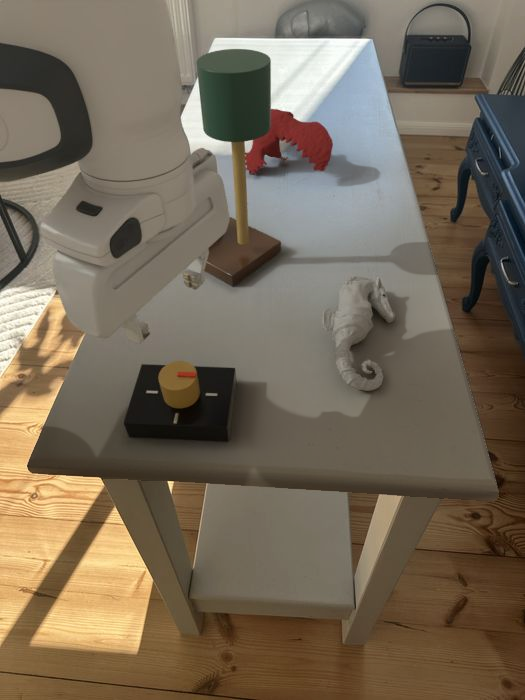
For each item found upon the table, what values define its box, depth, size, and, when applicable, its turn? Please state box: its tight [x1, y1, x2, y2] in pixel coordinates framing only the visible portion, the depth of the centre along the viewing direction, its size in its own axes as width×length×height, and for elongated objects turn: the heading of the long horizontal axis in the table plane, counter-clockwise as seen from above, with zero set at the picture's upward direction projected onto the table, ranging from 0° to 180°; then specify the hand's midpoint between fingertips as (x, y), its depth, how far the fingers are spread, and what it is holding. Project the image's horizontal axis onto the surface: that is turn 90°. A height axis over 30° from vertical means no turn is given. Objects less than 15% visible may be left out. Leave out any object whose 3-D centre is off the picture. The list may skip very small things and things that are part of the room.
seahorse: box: [321, 275, 396, 392], centre depth 66 cm, size 5×12×20 cm
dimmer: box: [123, 363, 237, 443], centre depth 59 cm, size 12×9×3 cm
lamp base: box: [204, 216, 282, 287], centre depth 81 cm, size 16×12×4 cm
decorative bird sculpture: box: [245, 108, 334, 175], centre depth 100 cm, size 28×9×15 cm
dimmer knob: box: [158, 360, 200, 408], centre depth 56 cm, size 4×4×4 cm
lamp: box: [195, 48, 272, 245], centre depth 68 cm, size 9×9×26 cm
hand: (168, 309), depth 51 cm, fingers open, 8 cm apart
